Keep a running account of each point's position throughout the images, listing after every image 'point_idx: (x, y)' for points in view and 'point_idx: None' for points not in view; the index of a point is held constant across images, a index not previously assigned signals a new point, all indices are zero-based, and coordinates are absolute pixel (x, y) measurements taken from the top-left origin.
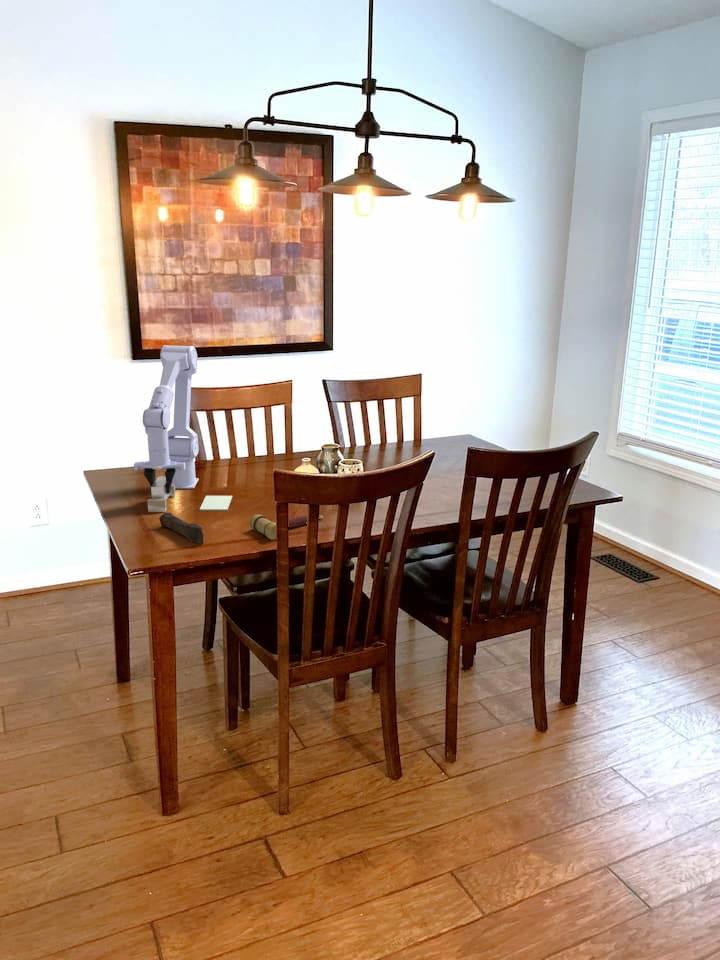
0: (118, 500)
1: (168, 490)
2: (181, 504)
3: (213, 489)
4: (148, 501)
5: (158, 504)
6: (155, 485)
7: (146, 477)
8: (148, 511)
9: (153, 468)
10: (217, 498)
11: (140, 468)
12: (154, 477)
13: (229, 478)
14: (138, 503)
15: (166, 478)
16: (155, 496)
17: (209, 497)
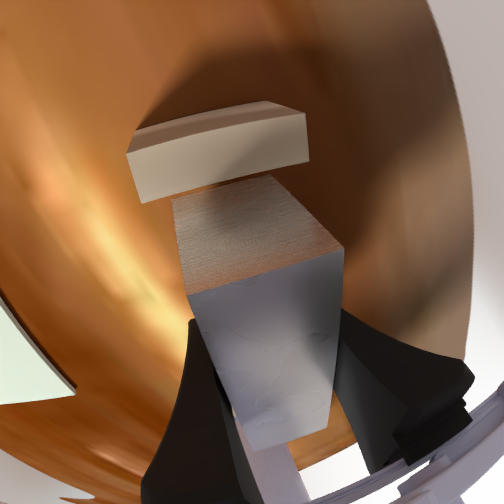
0: (437, 240)
1: (191, 336)
2: (112, 289)
3: (111, 435)
4: (291, 112)
5: (191, 126)
6: (306, 304)
7: (428, 355)
8: (265, 102)
9: (433, 493)
10: (11, 379)
11: (490, 405)
12: (351, 402)
13: (134, 475)
14: (363, 231)
15: (217, 431)
16: (259, 206)
17: (46, 383)
